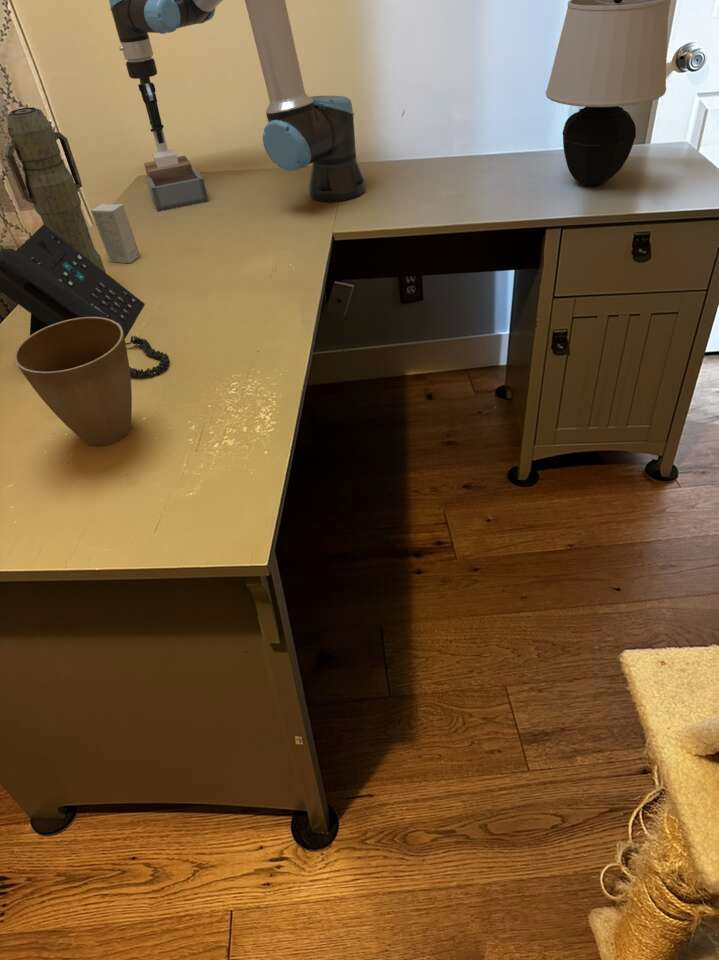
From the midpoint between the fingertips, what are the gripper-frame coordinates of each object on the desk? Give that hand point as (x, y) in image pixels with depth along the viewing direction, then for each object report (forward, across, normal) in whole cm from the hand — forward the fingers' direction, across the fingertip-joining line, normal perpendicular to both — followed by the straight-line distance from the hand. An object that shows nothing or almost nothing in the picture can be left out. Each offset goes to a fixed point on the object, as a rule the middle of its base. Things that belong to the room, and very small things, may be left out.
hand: (163, 154), depth 190 cm
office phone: (+9, +90, -26) cm, 94 cm away
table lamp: (+9, +67, +98) cm, 119 cm away
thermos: (+9, +63, -28) cm, 70 cm away
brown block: (+8, +4, 0) cm, 9 cm away
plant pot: (+9, +120, -28) cm, 124 cm away
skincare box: (+9, +50, -19) cm, 55 cm away
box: (+8, +16, 0) cm, 18 cm away
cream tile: (+1, +4, 0) cm, 4 cm away
